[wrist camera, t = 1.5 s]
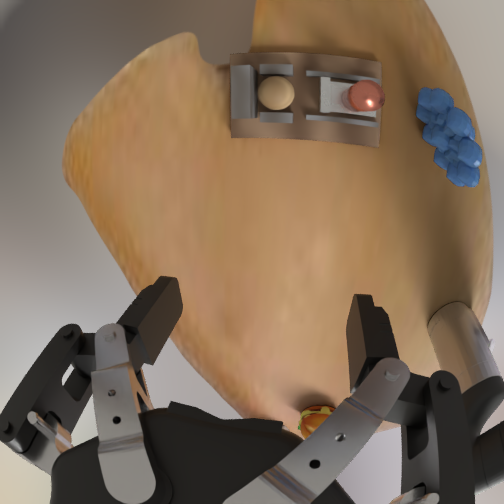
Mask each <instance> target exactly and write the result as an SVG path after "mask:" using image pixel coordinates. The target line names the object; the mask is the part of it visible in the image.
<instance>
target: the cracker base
mask: <svg viewBox="0 0 504 504" xmlns="http://www.w3.org/2000/svg"><path fill="white" fill-rule="evenodd" d="M272 76H279V77H283V78H285V79H287V80H288V81H289V82H290V83H291V84H292V86H293V88H294V93H295V94H294V99H293V101H292V103H291V104H290V105H289V106H288V107H286V108H284V109H280V110H273V109H269V108H267V107H266V106H264V105H263V104H262V103H261V101H260V100H259V97H258V88H259V86H260V84H261V83H262V82H263V81H264V80H265V79H267V78H269V77H272ZM321 77H330V81H331V82H341V83H349V84H355V83H357V82H359V81H361V80H365V79H368V80H372V81H374V82H376V83H378V84H379V85H380V86H381V88H382V66H381V62H377V61H372V60H366V59H360V58H353V57H345V56H337V55H327V54H314V53H294V52H259V53H239V54H230V107H231V138H281V139H300V140H315V141H327V142H337V143H346V144H355V145H362V146H370V147H377V148H379V139H380V124H381V108H380V109H378V110H376V117H369V116H362V115H355V114H347V113H338V112H330V113H321V112H319V86H320V78H321Z"/></svg>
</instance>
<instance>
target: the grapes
mask: <svg viewBox="0 0 504 504" xmlns="http://www.w3.org/2000/svg"><path fill="white" fill-rule="evenodd" d="M418 103H419V104H418V106H417V110H416V116H417V117H418V118H419V119H420V120H421V121H423V122H424V123H426V125H425V126H424V129H423V136H422V138H423V139H424V140H425V141H426V142H427V143H429V144H430V145H432V146H434V147H437V148H436V149H435V153H434V162H435V163H436V164H437V165H438V166H440V167H441V168H443V169H444V170H447V178H448V179H449V180H450V181H451V182H452V183H453V184H455V185H457V186H464V185H466V186H468V187H475V186H476V185H477V184H478V182H479V179H480V171H479V168H478V167H479V166H480V164H481V162H482V149H481V148H480V146H479V145H478V144H477V143H476V142H475V141H474V139H475V129H474V128H473V126H472V123H471V119H470V118H469V116H468V115H467V114H466V113H465V112H464V111H462V110H461V109H459V108H456V107H454V101H453V98H452V97H451V96H450V95H449V94H448V93H447V92H446V91H444V90H442V89H440V88H435V89H433V90H432V89H430V88H427V87H424V88H421V90H420V92H419V95H418Z"/></svg>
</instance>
